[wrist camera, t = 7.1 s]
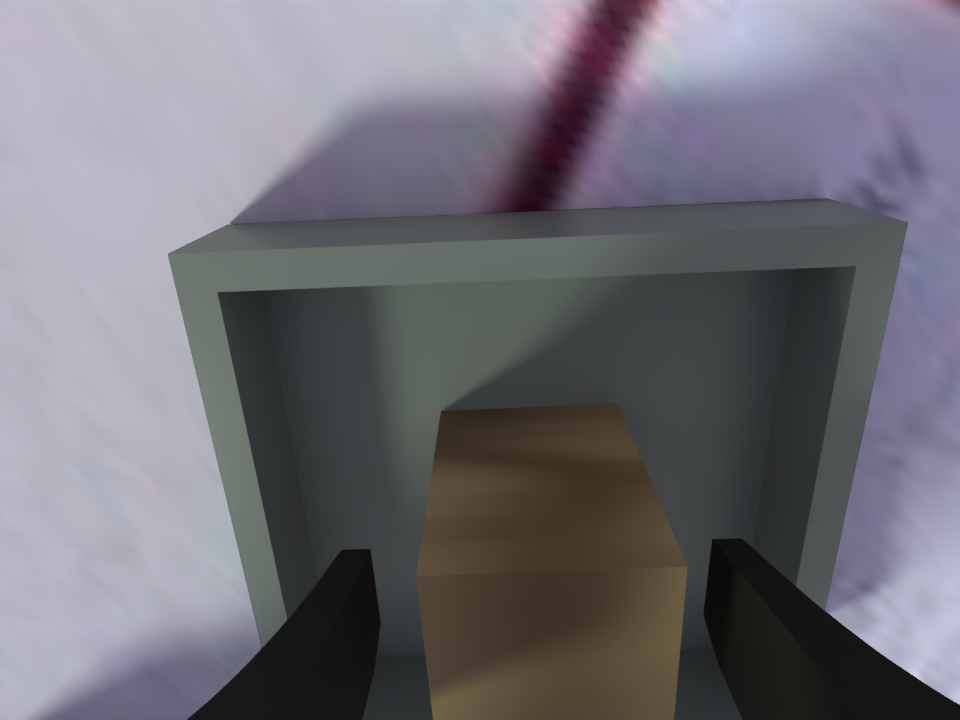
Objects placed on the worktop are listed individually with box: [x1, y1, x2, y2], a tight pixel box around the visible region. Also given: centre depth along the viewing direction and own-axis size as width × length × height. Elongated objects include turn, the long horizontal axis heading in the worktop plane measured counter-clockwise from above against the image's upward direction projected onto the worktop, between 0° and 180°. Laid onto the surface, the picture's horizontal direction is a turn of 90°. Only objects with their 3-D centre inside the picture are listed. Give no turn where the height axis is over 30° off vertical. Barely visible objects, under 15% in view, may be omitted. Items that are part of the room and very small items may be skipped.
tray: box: [168, 199, 908, 720], centre depth 16 cm, size 14×14×3 cm
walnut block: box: [416, 403, 688, 720], centre depth 14 cm, size 4×4×6 cm
